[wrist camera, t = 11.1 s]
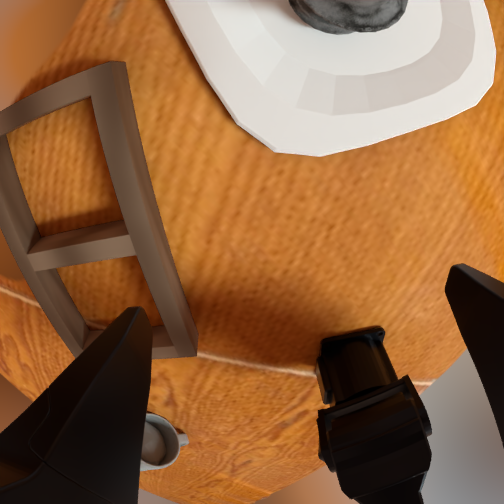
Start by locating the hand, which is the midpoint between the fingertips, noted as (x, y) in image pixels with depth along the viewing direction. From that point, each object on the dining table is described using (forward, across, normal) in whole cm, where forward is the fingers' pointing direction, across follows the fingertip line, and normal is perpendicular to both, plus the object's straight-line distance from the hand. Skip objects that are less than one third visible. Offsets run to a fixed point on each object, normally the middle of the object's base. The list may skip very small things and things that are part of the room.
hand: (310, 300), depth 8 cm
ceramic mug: (+13, +18, +32) cm, 39 cm away
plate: (+14, -6, -12) cm, 19 cm away
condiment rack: (+13, +13, +3) cm, 18 cm away
